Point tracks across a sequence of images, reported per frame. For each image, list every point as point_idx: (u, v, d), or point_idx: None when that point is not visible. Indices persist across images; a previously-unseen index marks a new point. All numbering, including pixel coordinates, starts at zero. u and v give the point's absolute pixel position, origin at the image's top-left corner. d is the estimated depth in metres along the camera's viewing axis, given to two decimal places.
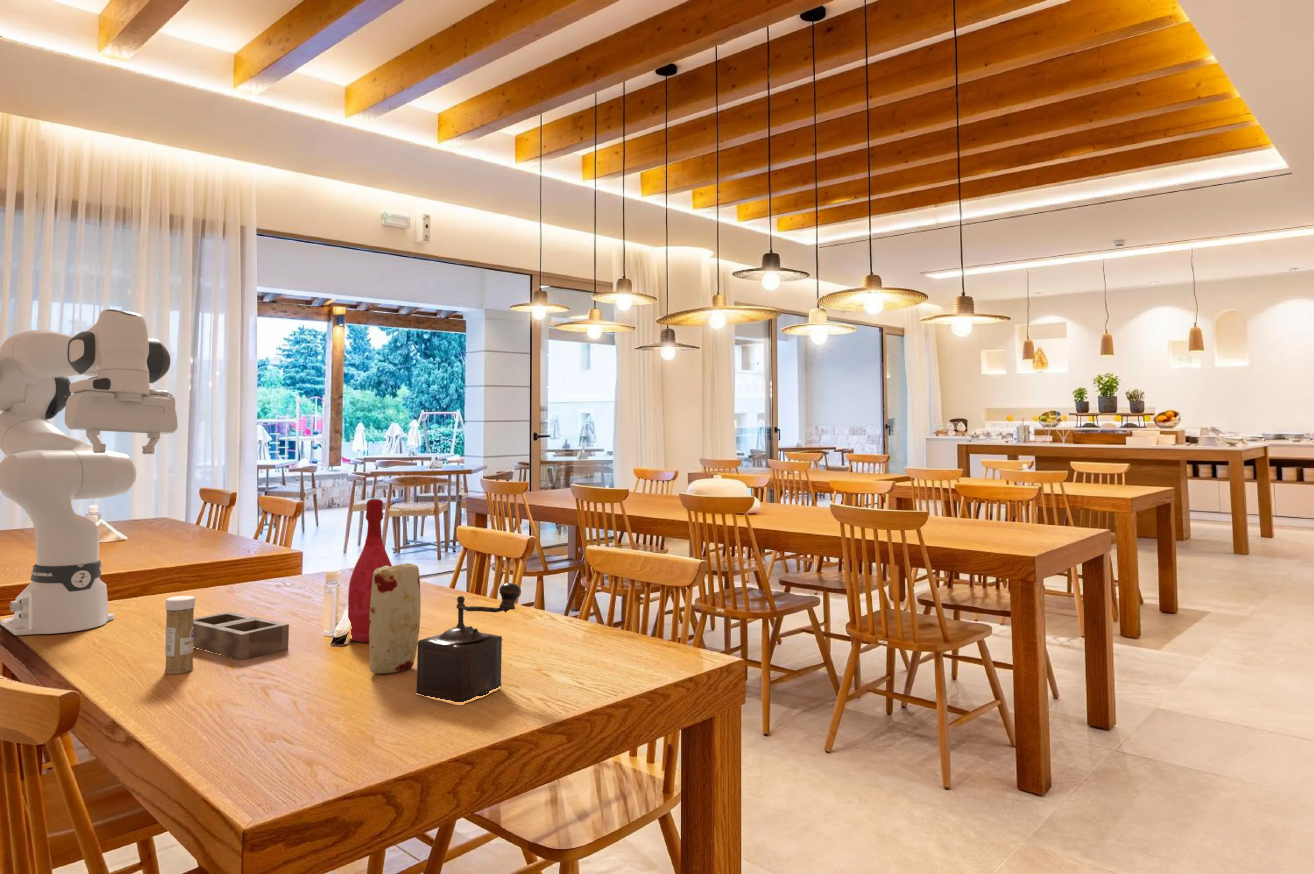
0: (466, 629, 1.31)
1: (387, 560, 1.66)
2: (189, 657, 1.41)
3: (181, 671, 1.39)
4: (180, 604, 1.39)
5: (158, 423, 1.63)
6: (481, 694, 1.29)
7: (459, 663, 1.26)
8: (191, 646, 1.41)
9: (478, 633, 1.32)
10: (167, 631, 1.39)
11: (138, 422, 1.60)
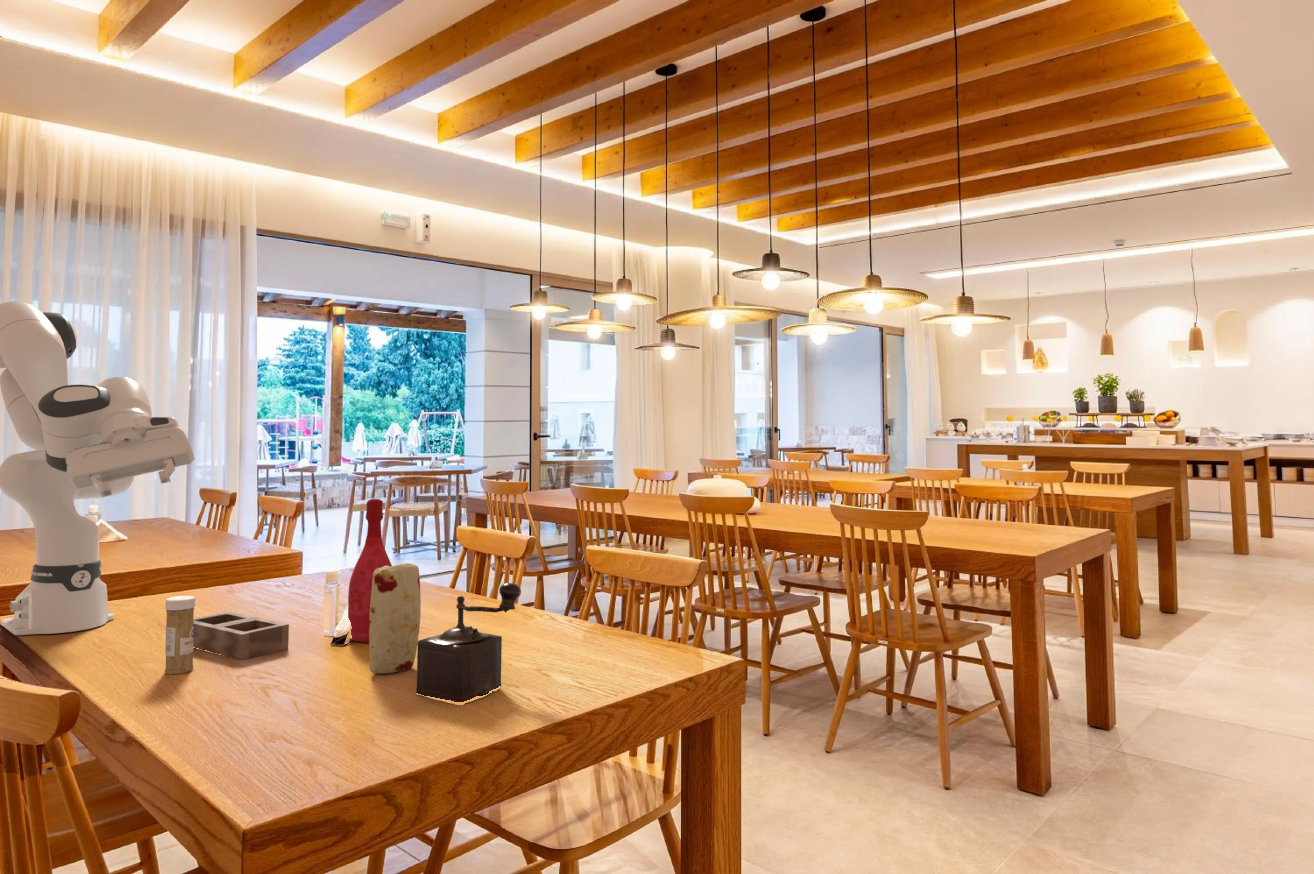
0: (466, 629, 1.31)
1: (387, 560, 1.66)
2: (189, 657, 1.41)
3: (181, 671, 1.39)
4: (180, 604, 1.39)
5: None
6: (481, 694, 1.29)
7: (459, 663, 1.26)
8: (191, 646, 1.41)
9: (478, 633, 1.32)
10: (167, 631, 1.39)
11: None
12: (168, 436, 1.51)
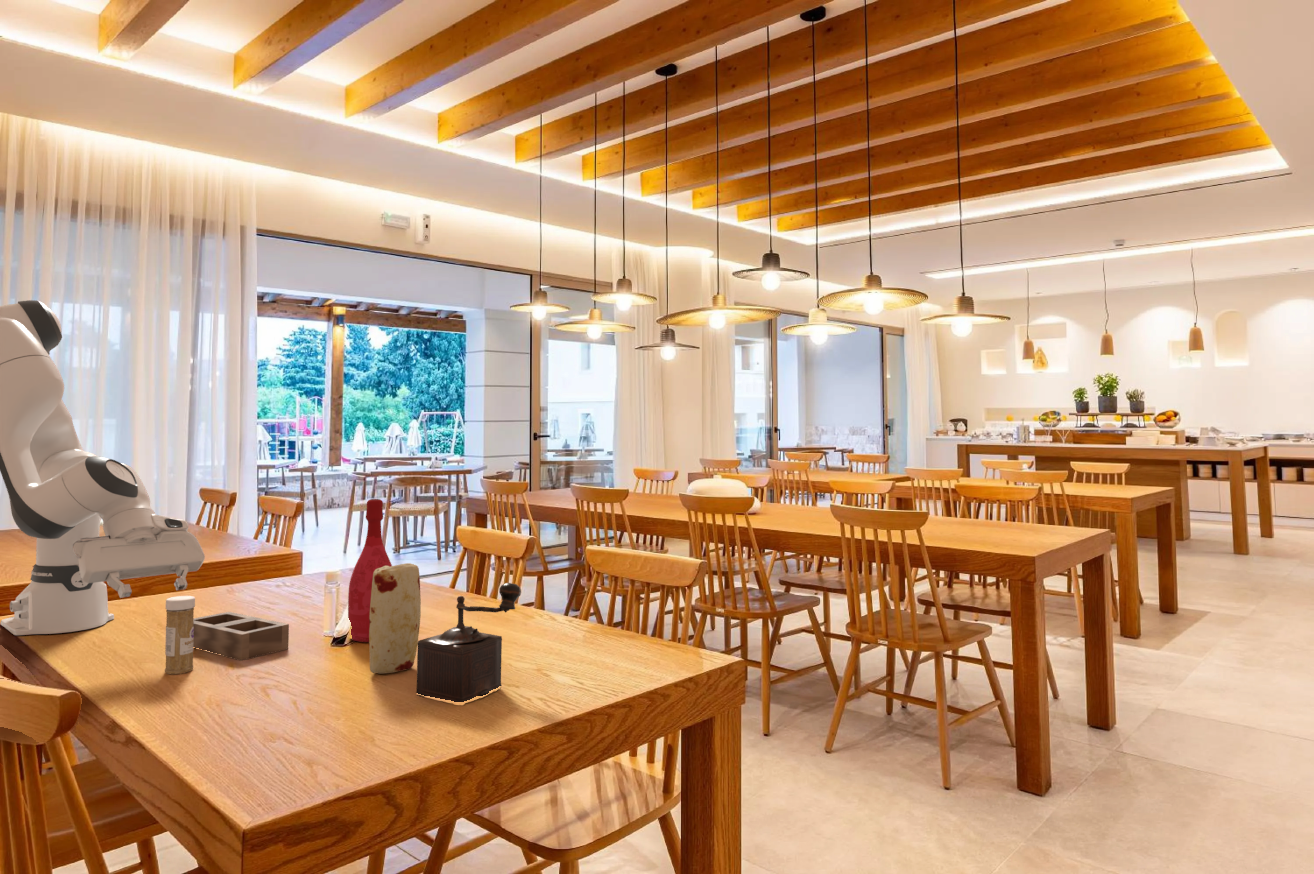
0: (466, 629, 1.31)
1: (387, 560, 1.66)
2: (189, 657, 1.41)
3: (181, 671, 1.39)
4: (180, 604, 1.39)
5: None
6: (481, 694, 1.29)
7: (459, 663, 1.26)
8: (191, 646, 1.41)
9: (478, 633, 1.32)
10: (167, 631, 1.39)
11: None
12: (180, 540, 1.53)
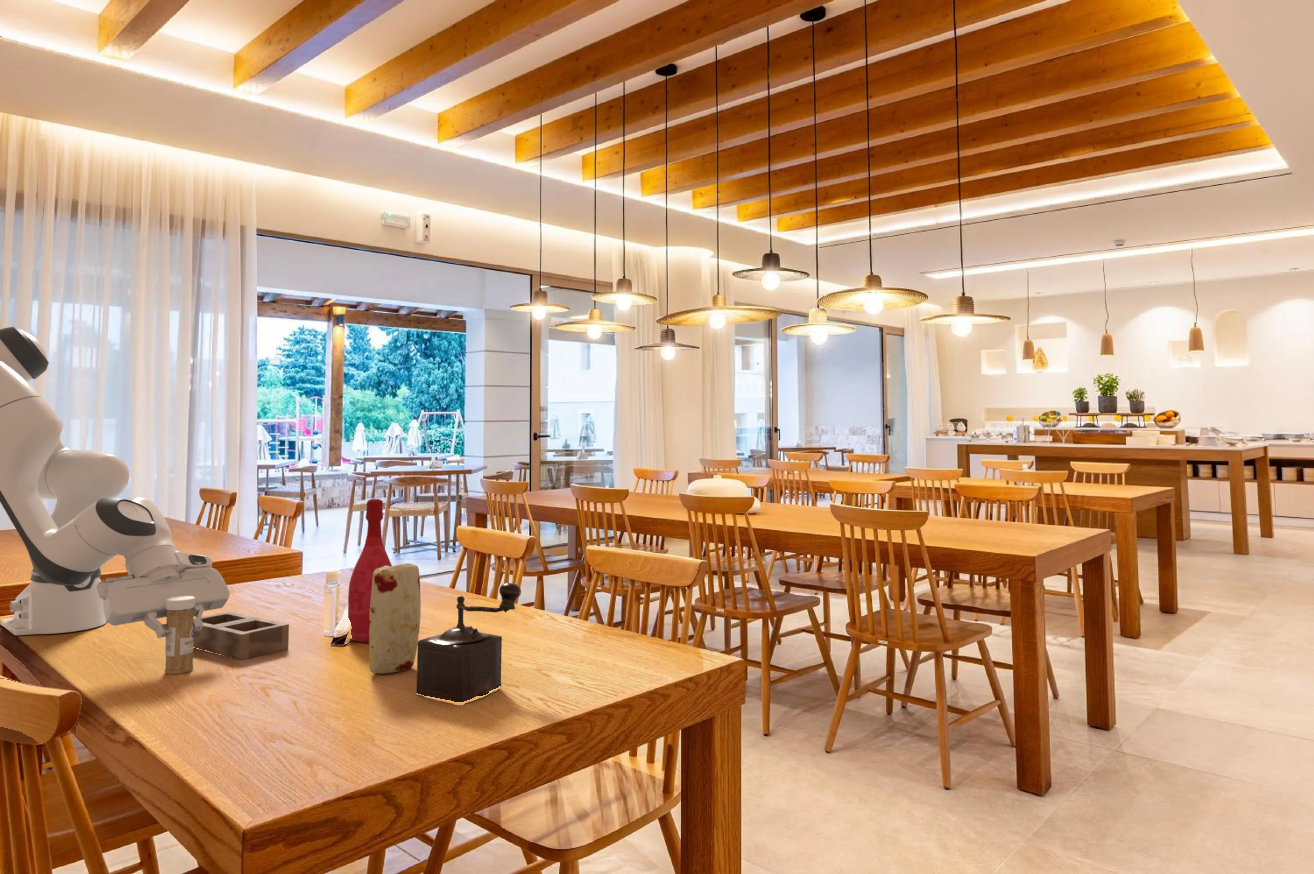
0: (466, 629, 1.31)
1: (387, 560, 1.66)
2: (189, 657, 1.41)
3: (181, 671, 1.39)
4: (180, 604, 1.39)
5: None
6: (481, 694, 1.29)
7: (459, 663, 1.26)
8: (191, 645, 1.41)
9: (478, 633, 1.32)
10: None
11: None
12: (205, 577, 1.50)
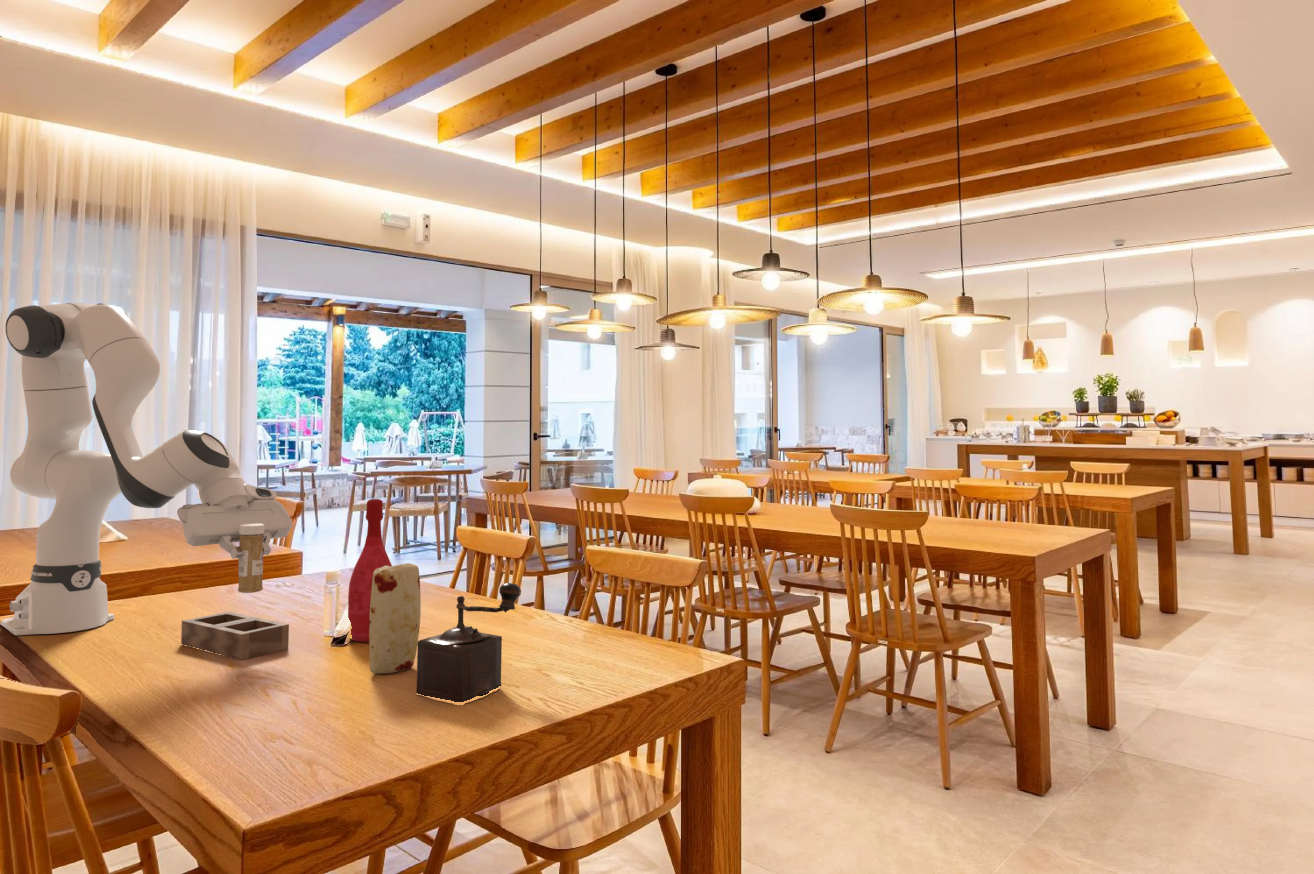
0: (466, 629, 1.31)
1: (387, 560, 1.66)
2: (260, 578, 1.55)
3: (253, 590, 1.53)
4: (252, 529, 1.53)
5: None
6: (481, 694, 1.29)
7: (459, 663, 1.26)
8: (261, 568, 1.55)
9: (478, 633, 1.32)
10: None
11: None
12: (270, 508, 1.63)
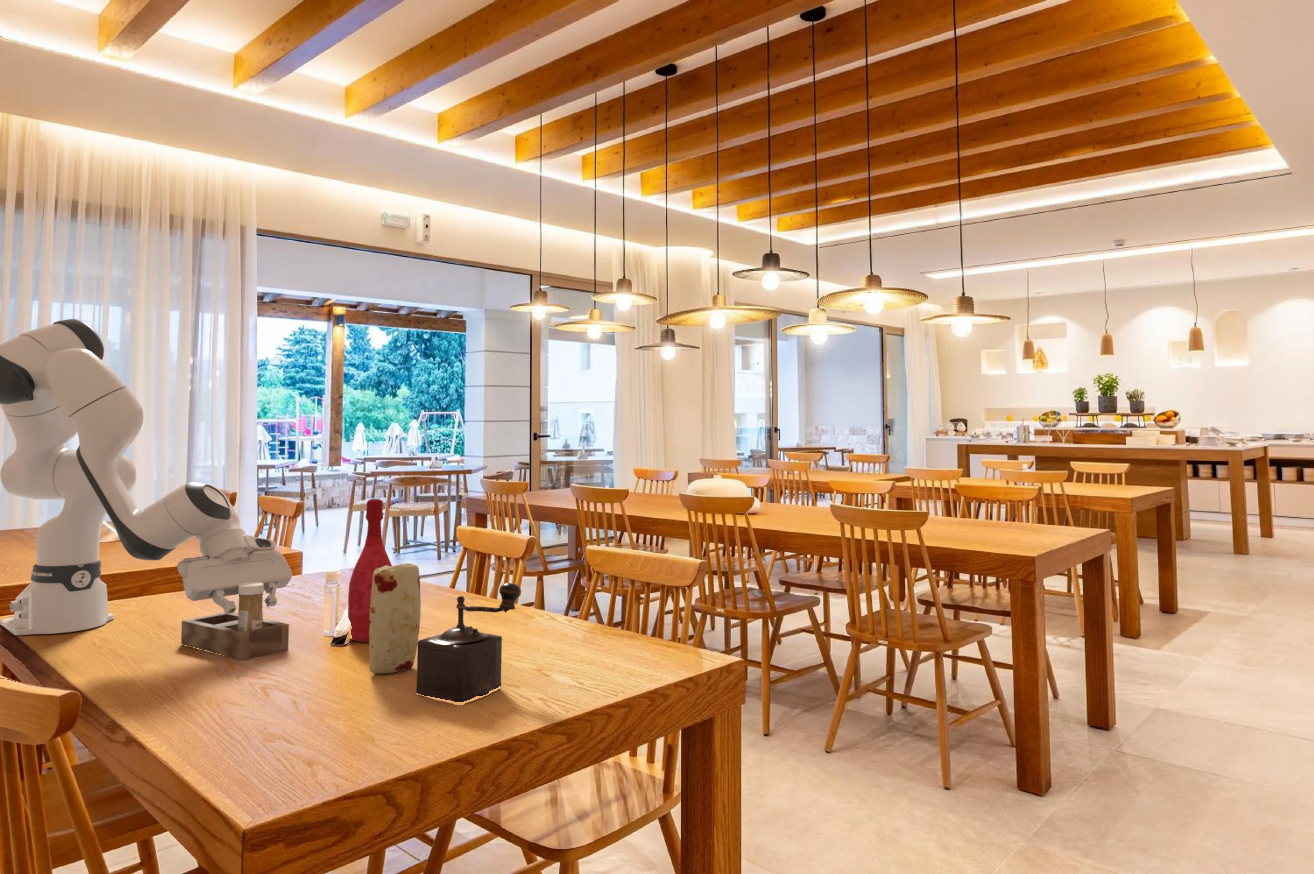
0: (466, 629, 1.31)
1: (387, 560, 1.66)
2: None
3: None
4: (252, 589, 1.53)
5: None
6: (481, 694, 1.29)
7: (459, 663, 1.26)
8: (261, 627, 1.55)
9: (478, 633, 1.32)
10: (240, 614, 1.53)
11: None
12: (270, 559, 1.64)
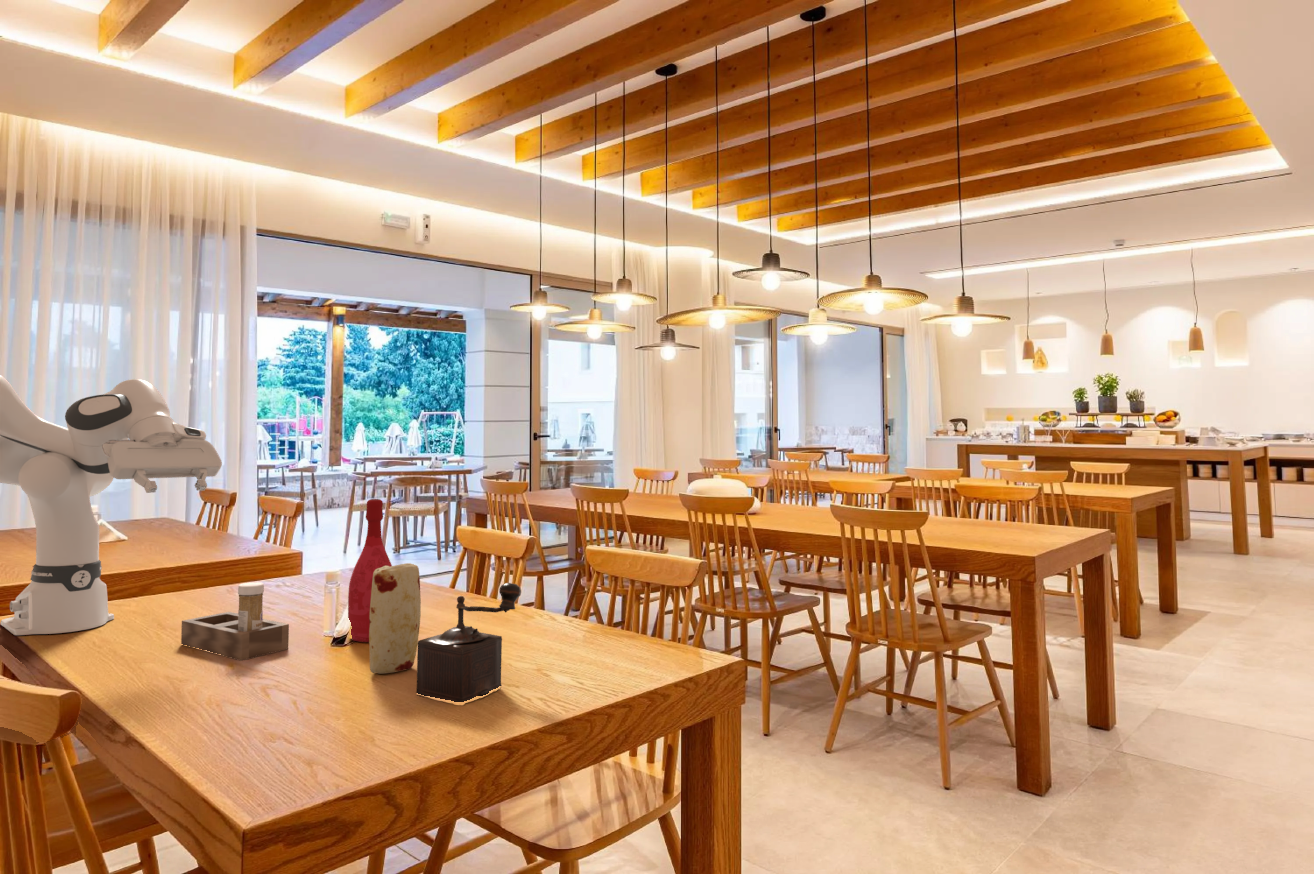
0: (466, 629, 1.31)
1: (387, 560, 1.66)
2: None
3: None
4: (252, 590, 1.53)
5: None
6: (481, 694, 1.29)
7: (459, 663, 1.26)
8: (261, 627, 1.55)
9: (478, 633, 1.32)
10: (240, 614, 1.53)
11: None
12: (199, 447, 1.66)
